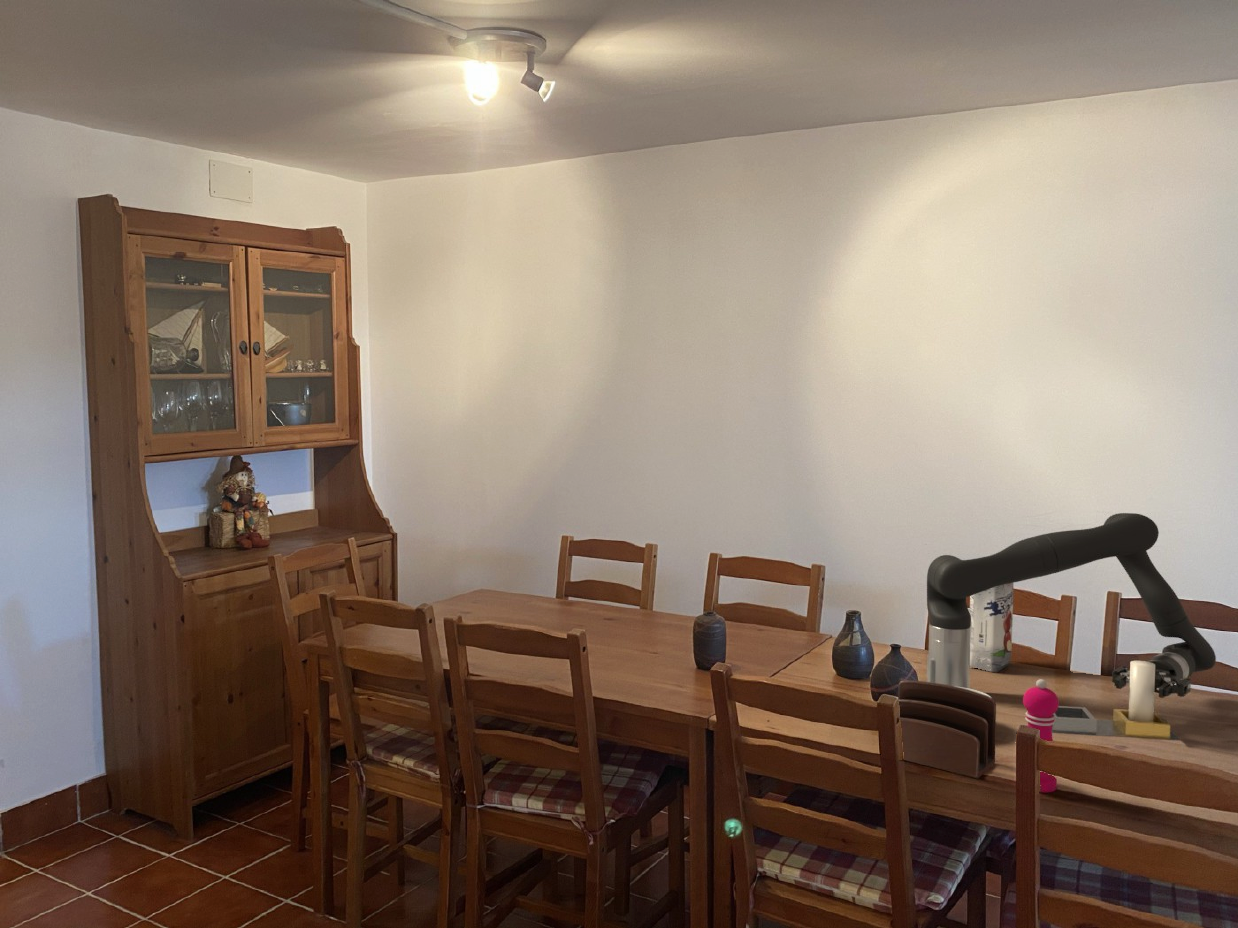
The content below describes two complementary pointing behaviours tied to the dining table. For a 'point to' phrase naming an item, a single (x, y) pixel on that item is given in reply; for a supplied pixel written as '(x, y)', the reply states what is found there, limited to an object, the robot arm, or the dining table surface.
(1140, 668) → the cream peg
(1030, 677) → the dining table surface
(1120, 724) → the peg insertion base
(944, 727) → the letter holder
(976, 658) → the juice carton
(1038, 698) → the pepper mill
